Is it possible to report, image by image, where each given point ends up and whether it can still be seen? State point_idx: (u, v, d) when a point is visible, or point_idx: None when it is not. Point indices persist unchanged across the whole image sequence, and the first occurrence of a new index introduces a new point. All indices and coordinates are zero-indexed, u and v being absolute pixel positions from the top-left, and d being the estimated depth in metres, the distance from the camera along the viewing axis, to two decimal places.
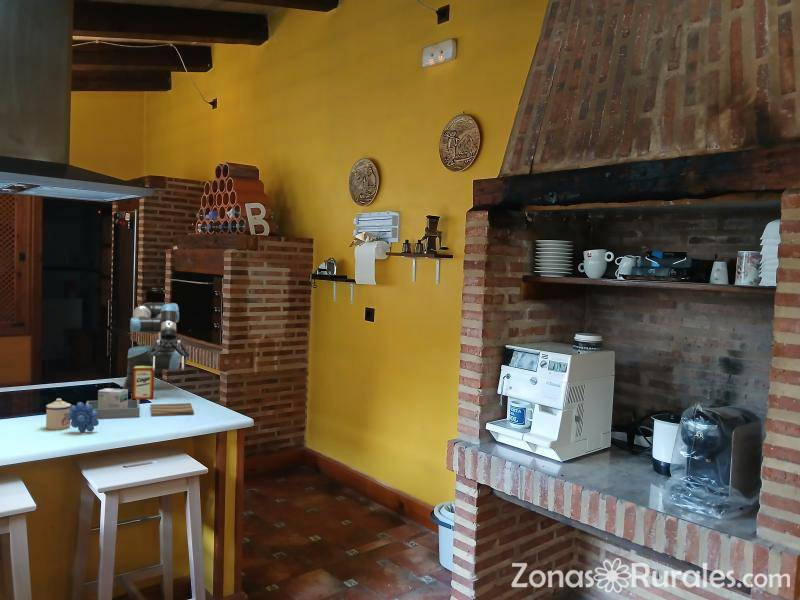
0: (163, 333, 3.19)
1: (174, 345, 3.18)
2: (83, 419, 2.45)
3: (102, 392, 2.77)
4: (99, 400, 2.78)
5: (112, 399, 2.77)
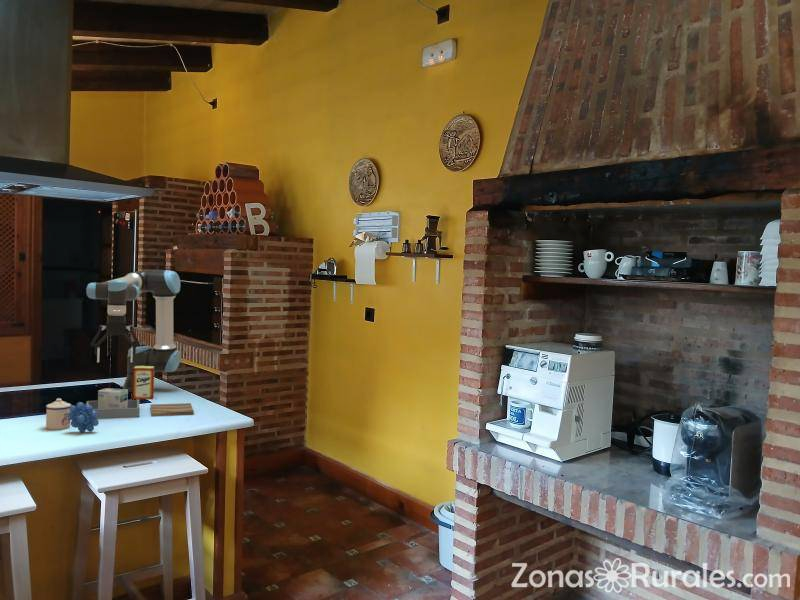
0: (109, 320, 2.76)
1: None
2: (83, 419, 2.45)
3: (102, 392, 2.77)
4: (99, 400, 2.78)
5: (112, 399, 2.77)
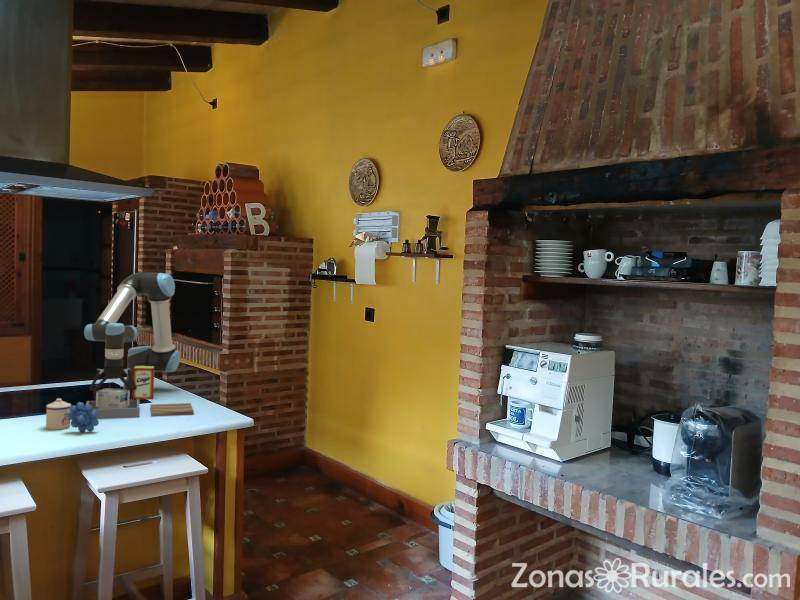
0: (107, 364, 2.76)
1: None
2: (83, 419, 2.45)
3: (102, 392, 2.77)
4: (99, 400, 2.78)
5: (112, 398, 2.77)
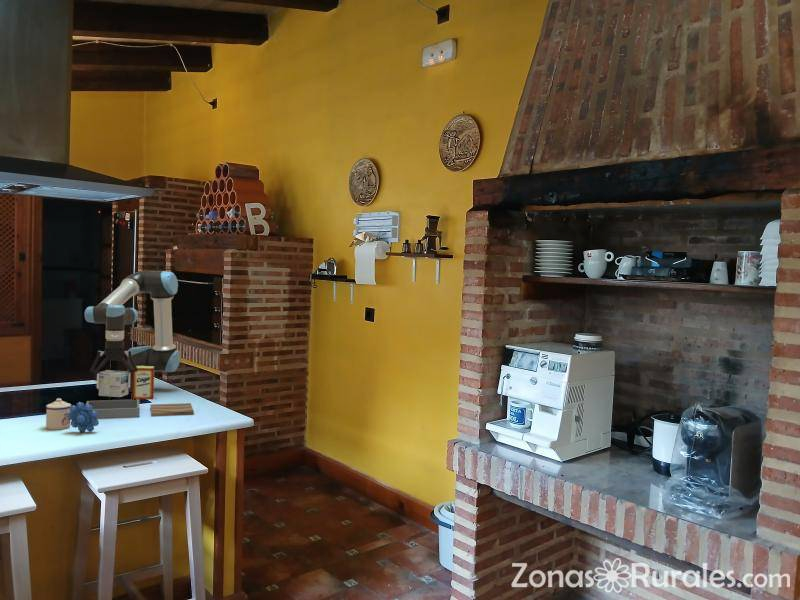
0: (108, 346, 2.76)
1: (120, 360, 2.79)
2: (83, 419, 2.45)
3: (103, 374, 2.77)
4: (100, 382, 2.78)
5: (112, 380, 2.77)
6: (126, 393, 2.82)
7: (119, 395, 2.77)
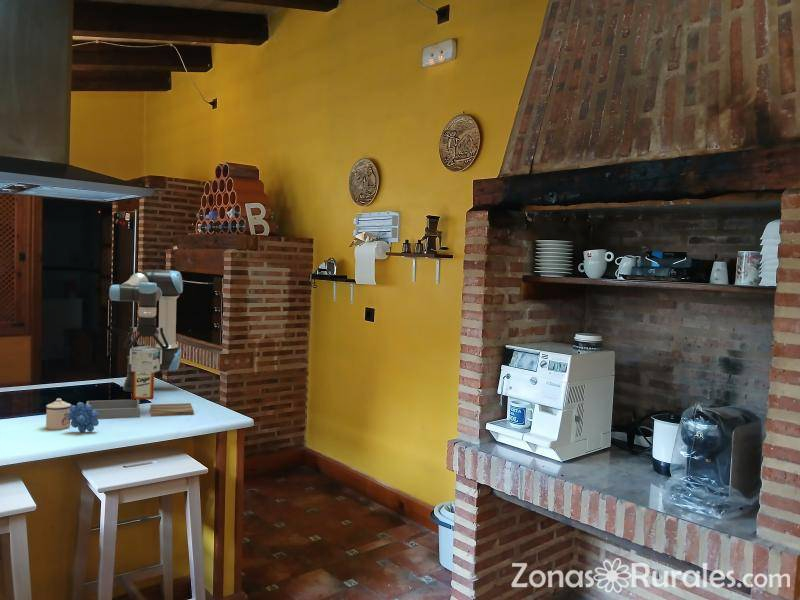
0: (140, 322, 2.81)
1: (152, 336, 2.84)
2: (83, 419, 2.45)
3: (135, 350, 2.82)
4: (132, 357, 2.82)
5: (145, 356, 2.81)
6: (158, 369, 2.86)
7: (151, 371, 2.81)
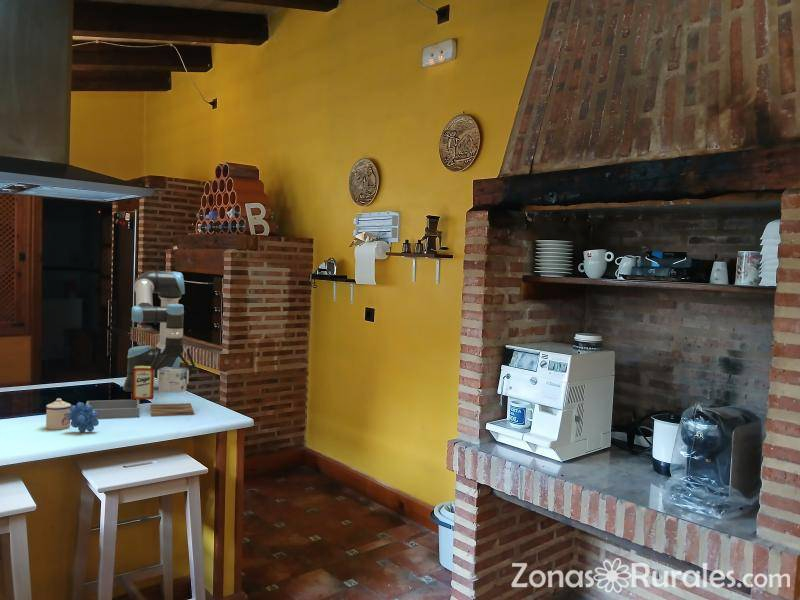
0: (168, 343, 2.86)
1: (179, 357, 2.89)
2: (83, 419, 2.45)
3: (163, 370, 2.87)
4: (160, 378, 2.87)
5: (172, 376, 2.86)
6: (184, 389, 2.91)
7: (179, 391, 2.86)
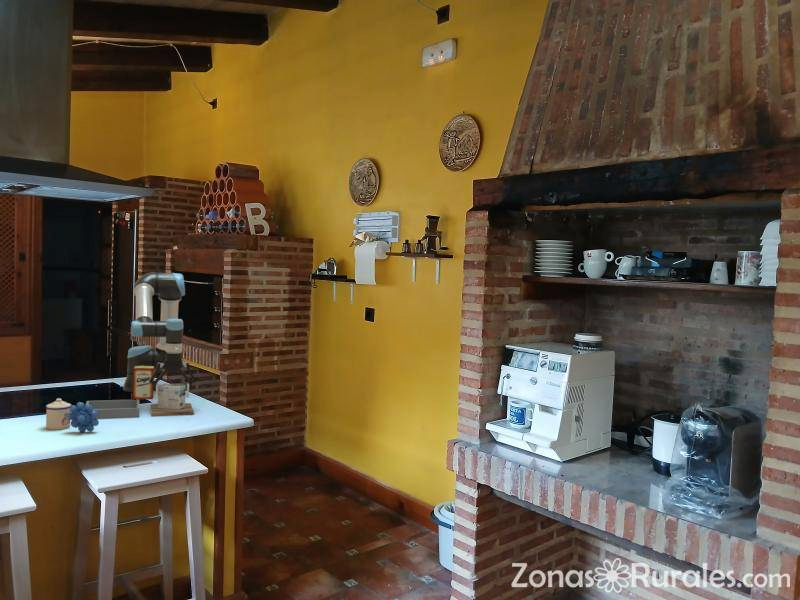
0: (167, 358, 2.86)
1: (179, 371, 2.89)
2: (83, 419, 2.45)
3: (162, 387, 2.87)
4: (159, 395, 2.87)
5: (171, 393, 2.87)
6: (183, 406, 2.91)
7: (178, 408, 2.87)
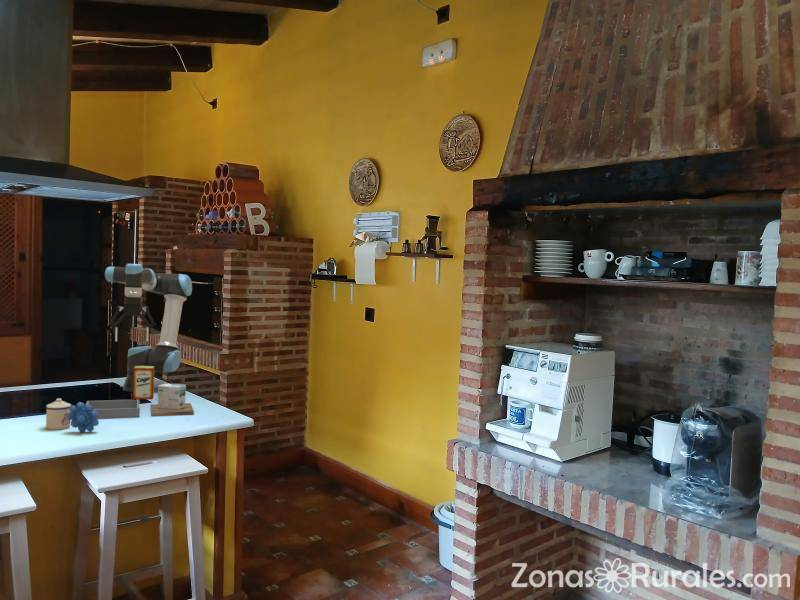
0: (127, 301, 2.93)
1: (139, 315, 2.96)
2: (83, 419, 2.45)
3: (162, 387, 2.87)
4: (159, 395, 2.87)
5: (171, 393, 2.87)
6: (183, 406, 2.91)
7: (178, 408, 2.87)
